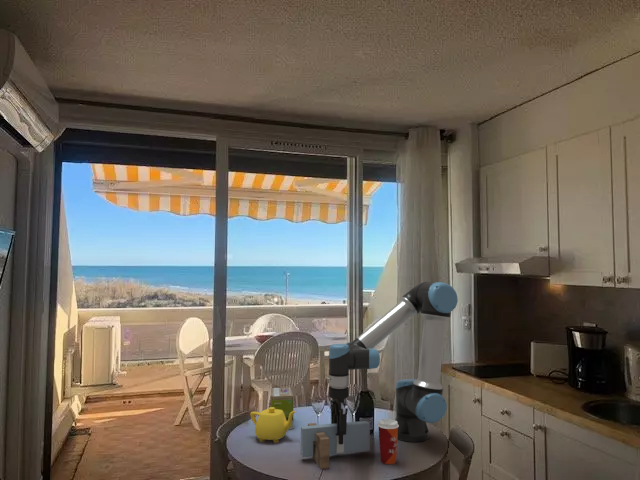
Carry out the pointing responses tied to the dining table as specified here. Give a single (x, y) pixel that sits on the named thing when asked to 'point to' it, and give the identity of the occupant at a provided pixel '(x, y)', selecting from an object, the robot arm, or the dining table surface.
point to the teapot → (271, 424)
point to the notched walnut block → (321, 449)
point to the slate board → (353, 440)
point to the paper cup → (388, 440)
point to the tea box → (283, 401)
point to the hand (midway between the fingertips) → (338, 450)
